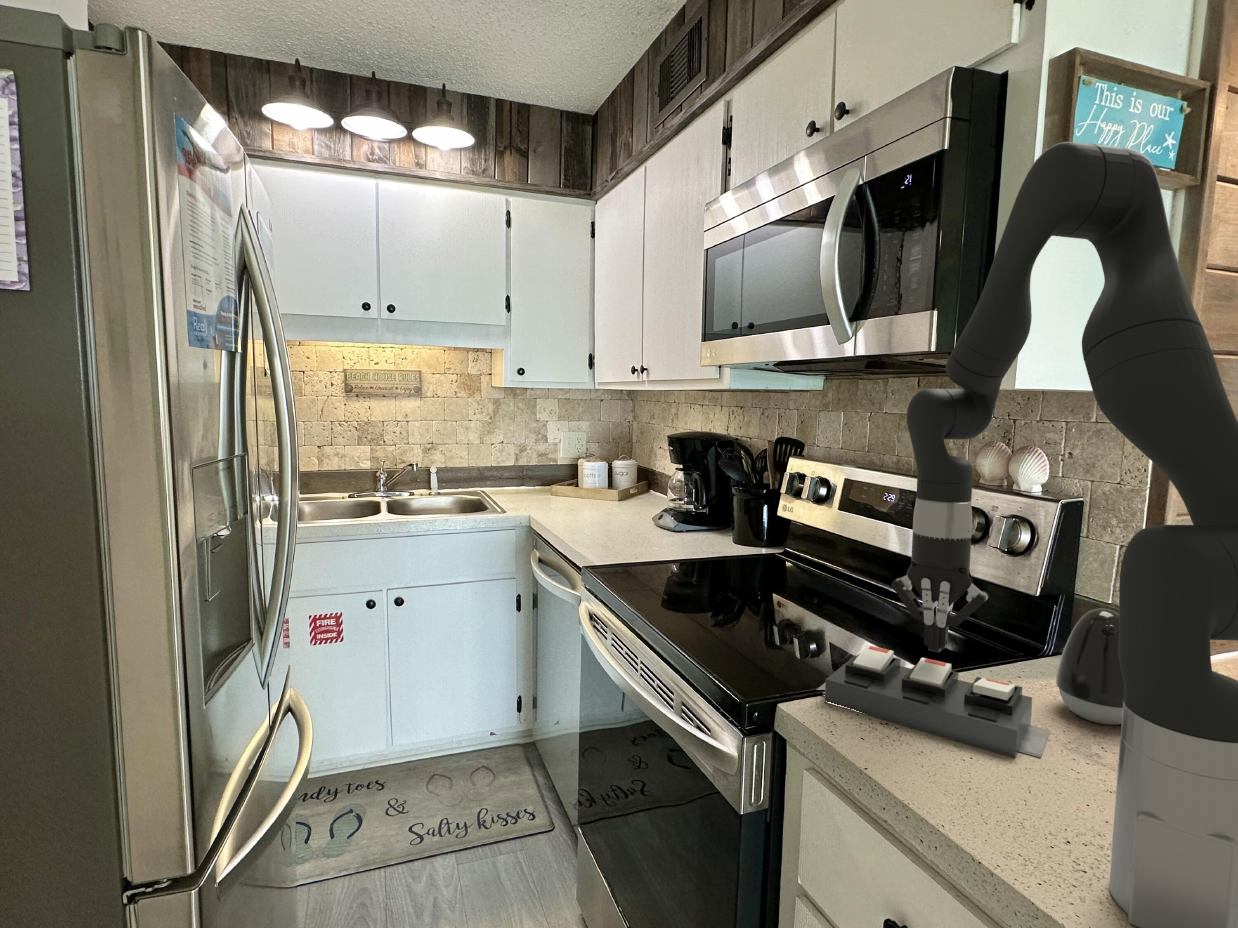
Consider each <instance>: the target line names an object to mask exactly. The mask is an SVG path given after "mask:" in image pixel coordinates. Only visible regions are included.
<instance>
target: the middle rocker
mask: <svg viewBox="0 0 1238 928" xmlns="http://www.w3.org/2000/svg"><path fill="white" fill-rule="evenodd" d="M917 663H918V664H917ZM917 663H916V664H917V666H916V667H915V669H914V671H913V672H912V674H911V675H910V680H914V681H918V682H922V683H926V684H930V685H934V686H938V687H943V685H944V683H945V681H946V679H947V677H948V676H949V674H950V672H951V671H952V663H947V662H944V661H940V660H935V659H930V658H926V657H921V658H920V660H919V661H918V662H917Z"/></svg>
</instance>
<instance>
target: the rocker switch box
mask: <svg viewBox="0 0 1238 928" xmlns="http://www.w3.org/2000/svg"><path fill="white" fill-rule="evenodd" d="M859 654H860V653H858V654H856V655H855V654H854V656H853V657H851V658H850V659H849V660H848V661H847V662H844V664H843V665H842V666H840V667H839V668H838V669H836V670H835V671H834V672H833V673H832V674H830V675H829V676H828V677H827V678H825V682H824V683H823V684H821V685H820V686H819V687H817V688H816V690H825V692H823V694H825V697H824V702H825V701H827V702H831V703H834V704H837V705H841V706H844V707H847V708H850V709H854V710H856V711H859V712H862V713H865V714H868V715H867V716H869V715H871V716H870V717H872V716H874V717H873V718H876V719H878V720H879V719H880V720H883V721H887V722H890V723H894V724H897V725H901V726H903V727H906V728H910V729H914V730H916V731H921V732H924V733H928V734H932V735H935V736H938V737H942V738H945V739H948V740H953V741H955V742H958V743H962V744H965V745H969V746H972V747H977V748H979V749H983V750H986V751H990V752H994V753H997V754H1000V755H1003V756H1007V757H1011V758H1015V759H1016V758H1017V756H1018V753H1021V754H1024V755H1025V754H1026V755H1030V756H1033V757H1037V758H1042V755H1043V752H1044V750H1045V747H1046V744H1047V742H1048V738H1049V735H1050V733H1051V732H1050V730H1049V729H1045V728H1042V727H1038V726H1034V725H1030V724H1031V723H1032V707H1033V697H1031V696H1028V695H1024V694H1023V690H1024V689H1023V686H1018V685H1015V692H1014V694H1013V695H1012V696H1011V697H1010V698H1009V699H1008V700H1004V699H1000V698H996V697H992V696H988V695H984V694H979V693H975V692H973V684H974V683H976V682H977V681H979V680H980V679H982V678H983V677H980V676H976V677H975V679H974V680H973V682H969V681H964V680H960V679H959V672H958V671H954V670H951V672H950V674H949V676H948V677H947V679H946V681H945V683H944V685H943V687H938V686H934V685H930V684H926V683H922V682H918V681H914V680H910V675H911V674H912V672H913V671H914V669H915V667H916V666H917V664H918V663H919V662H917V663H916V664H915V665H914V666H913V667H912V668H910V667H906V666H902V665H901V661H902V660H901V658H899V657H895V656H894V657H893V659H892V660H891V662H890V663H889V665H888V666H887V667H886V669H885V670H884V671H883V672H878V671H874V670H870V669H866V668H862V667H858V666H854V665H853V662H854V661H855V659H856V658H857V657H858V656H859ZM862 713H861V714H862ZM865 714H864V715H865Z"/></svg>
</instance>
